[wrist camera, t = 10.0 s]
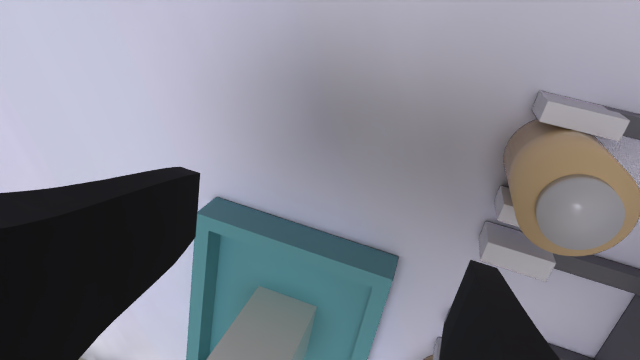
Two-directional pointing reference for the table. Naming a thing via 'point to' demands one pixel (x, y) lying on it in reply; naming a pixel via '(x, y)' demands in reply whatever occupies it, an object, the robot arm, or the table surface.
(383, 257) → the tray
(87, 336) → the robot arm
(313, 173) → the table surface
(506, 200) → the holder block
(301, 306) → the block
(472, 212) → the table surface
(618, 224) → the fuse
